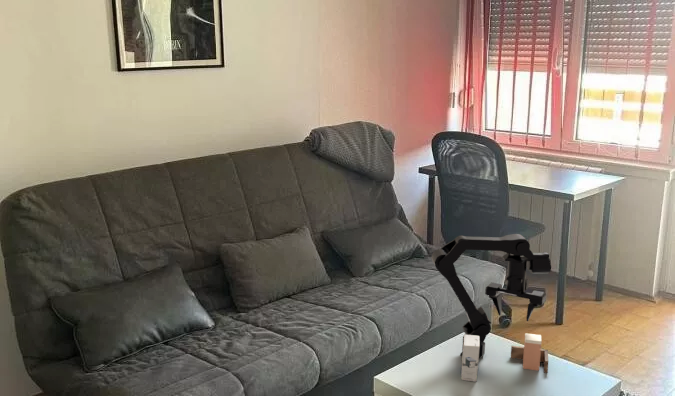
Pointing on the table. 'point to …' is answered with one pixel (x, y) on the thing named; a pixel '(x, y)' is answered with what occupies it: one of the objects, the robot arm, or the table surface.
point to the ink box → (470, 357)
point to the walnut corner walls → (519, 352)
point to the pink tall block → (532, 351)
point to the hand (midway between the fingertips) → (513, 317)
